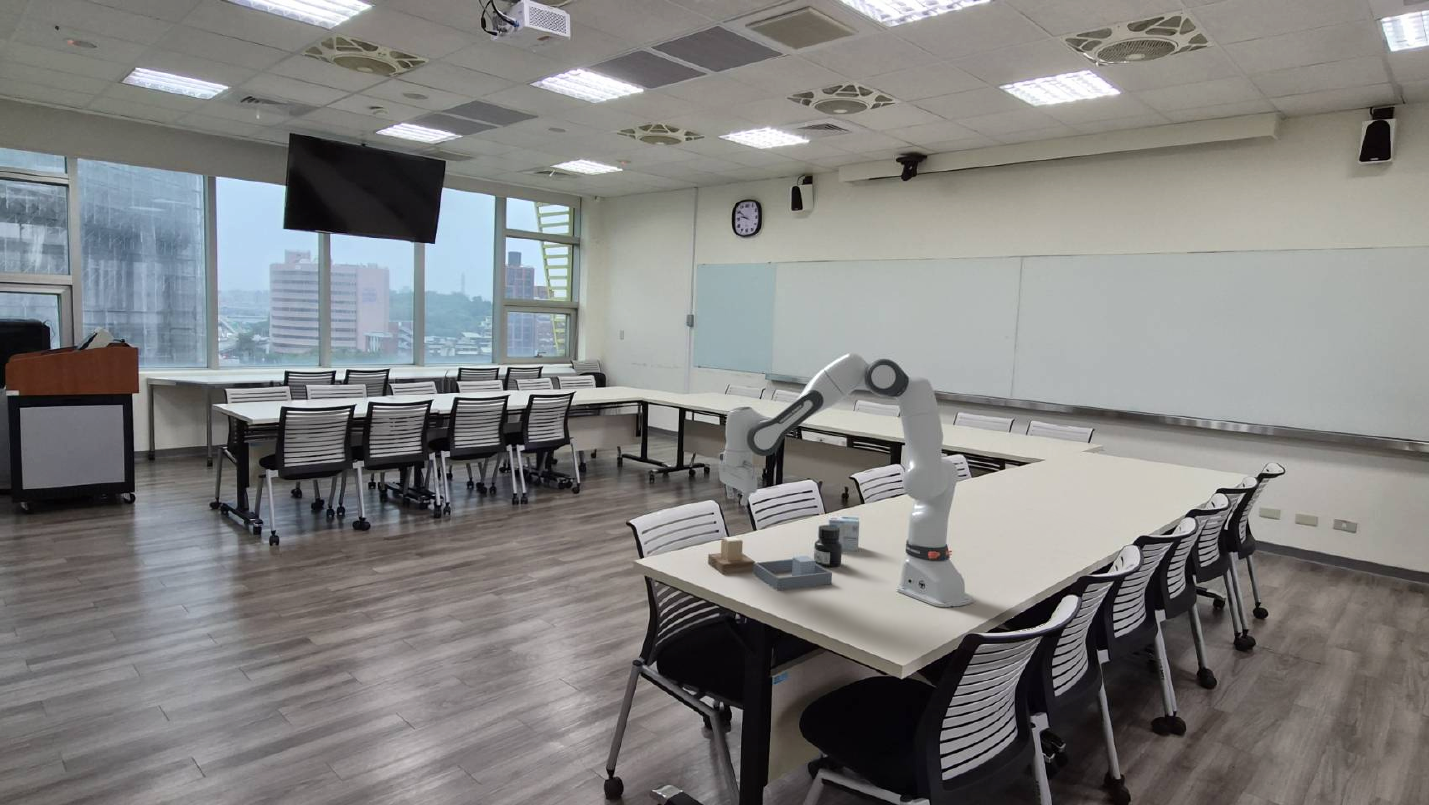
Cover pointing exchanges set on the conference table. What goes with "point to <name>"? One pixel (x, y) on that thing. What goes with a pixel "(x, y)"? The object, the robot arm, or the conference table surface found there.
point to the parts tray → (769, 567)
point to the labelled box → (731, 548)
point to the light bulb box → (847, 531)
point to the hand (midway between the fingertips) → (737, 501)
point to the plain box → (803, 566)
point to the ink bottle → (828, 546)
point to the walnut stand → (730, 564)
